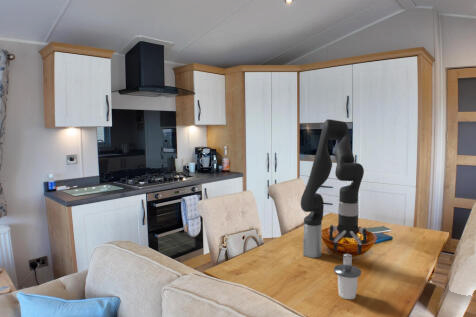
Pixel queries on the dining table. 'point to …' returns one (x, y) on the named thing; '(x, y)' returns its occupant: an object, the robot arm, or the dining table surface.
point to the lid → (347, 268)
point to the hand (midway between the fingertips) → (347, 251)
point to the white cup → (347, 287)
